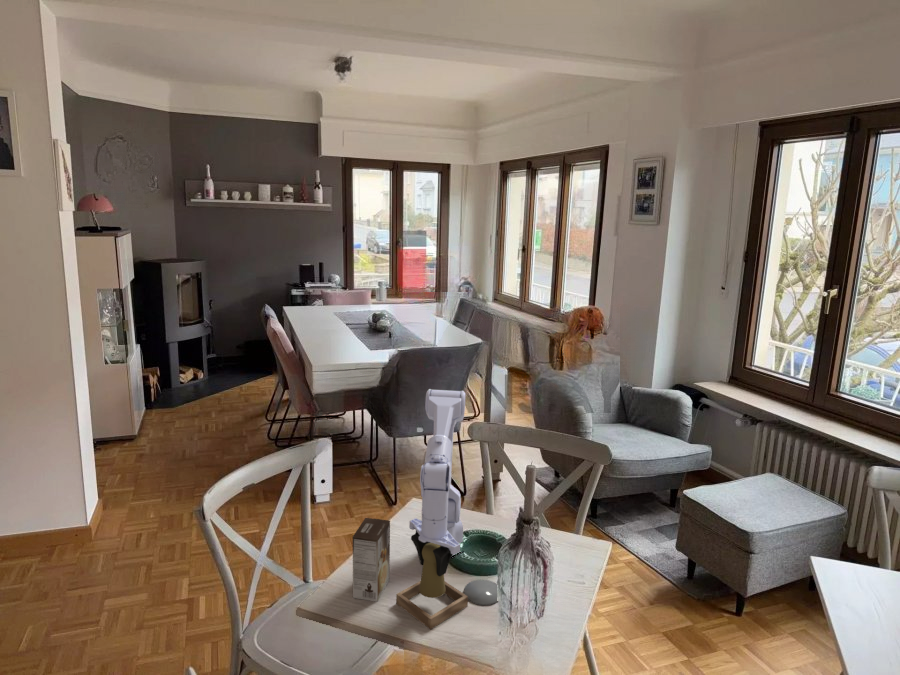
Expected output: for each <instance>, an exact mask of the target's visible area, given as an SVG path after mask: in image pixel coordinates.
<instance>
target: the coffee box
mask: <svg viewBox="0 0 900 675" xmlns="http://www.w3.org/2000/svg"><path fill="white" fill-rule="evenodd" d="M390 522H391V520H388V519H379V518H373V517H371V518H370V517H364V519H363V520H362V522H361V524H360V525H359V527H358V528H357V530H356V531H355V533H354V534H353V535H352V598H353V599H359V600H365V601H371V602H379V600H380V599H381V597H382V595H383V593H384V591H385V589H386V587H387V585H388V583H389V581H390V574H391V573H390V572H391V571H390V568H391V567H390V566H391V565H390V562H391V560H390V558H391V557H390V556H391V554H390V552H391V547H390V545H391V544H390V542H391V523H390Z"/></svg>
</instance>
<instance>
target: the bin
mask: <svg viewBox="0 0 900 675" xmlns="http://www.w3.org/2000/svg"><path fill="white" fill-rule="evenodd" d="M420 581H421V580H419V581H417V582H415V584H412V585H411V586H409V587H406V588H405V589H403V590H402V591H401V590H400V591H399V592H397V593H396V594H395V595H396V596H395V597H396V598H395V600H396V603H395V604H396V605H397V606H399V607H400V608H401V609H402V610H404V611H405V612H407V613H408V614H409V615H411V616H412V617H414V619H416V620H417V621H419V622H420V623H421V624H423V625H424V626H426V627H427V628H428V629H429V630H433V629H434V628H435V627H436V626H438V625H440V624H442V623H444V622H445V621H447V620H448V619H450V618H451V617H453V616H454V615H456V614H458V613H459V612H460V611H462V610H464V609H465V608H466V607H468V605H469V602H468V601H469V600H468V596H466V595H465V594H464V592H462V591H460V590H459V589H457V588H455V587H454V586H453V585H451V584H450V583H448V582H447V581H445V593H444V594H443V595H445V596H447V597H449V598H450V599H451V600H453V602H451V603H450V604H448V605H446V606H445V607H444V608H442V609H440V610H439V611H437V612H435V613H434V614H432V615H431V614H429V613H428V612H427V611H425V610H424V609H422V608H421V607H420V606H418V605H416V604H415V602H412V601H411V600H410V599H412V598H414V597H416V596H418V595H419V594H421V593H420V592H419V587H420Z"/></svg>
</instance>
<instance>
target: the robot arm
mask: <svg viewBox="0 0 900 675" xmlns="http://www.w3.org/2000/svg"><path fill="white" fill-rule="evenodd" d="M466 394H467V393H466V392H465V391H464V390H450V389H448V390H446V389H431V388H429V389H428V390H427V391H426V394H425V404H424V405H425V407H424V408H425V413H426V416H427V418H428V419H429V420H431V421H433V435H432V436H431V437H429V439H428V440H427V444H426V450H425V456H424V457H425V458H424V463H423V464H422V465H421V466H420V474H419V475H420V476H419V477H420V478H419V483H420V484H419V485H420V494H421V497H422V498H421V519H419V518H417V517H414V518H413V519H411V520H409V529H410V530H412V531H413V530H415V533H413V534H412V535H411V536H410V540H411V541H412V543H413V545H414V546H415V549H416V552H417V556H418V559H419V564H420V565H421V566H423V563H424V559H423V557H422V549H423V547H424V546H425V545H426V544H428V543H434V544H437V545H440V547H438V548H436V549H434V550H433V553H434V555H435V558H436V565H437V575H438V576H442V575H444V576H445V574H446V573H447V570H448V568H449V564H450V561H451V559H452V558H453V557H452V556H453V555H455V554H457V553H459V552H460V544H459V543H461V542H464V540H463V539H464V525H463V522H462V520H461V505H462V504H461V503H462V502H461V501H462V500H461V497H462V496H461V493H460V491H459V490H458V489H457V488H456V487H454V485H452V467H453V447H454V446H453V445H454V429H455V427H456V424H457V423H460V422H462V421H464V418H465V411H466ZM459 554H460V553H459ZM451 557H452V558H451Z"/></svg>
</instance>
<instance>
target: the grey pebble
mask: <svg viewBox="0 0 900 675" xmlns="http://www.w3.org/2000/svg"><path fill="white" fill-rule="evenodd" d="M497 585H498V584H497V583H496V582H494V581H492V580H488V579H475V580H471V581H470V582H468V583H466V585H465V586H464V591H463V594H465V595H466V596H468V601H469V602H470V603H473V604H475V605H479V606H490V605H491V606H492V605H495V604H497V603H498V602H497Z"/></svg>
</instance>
